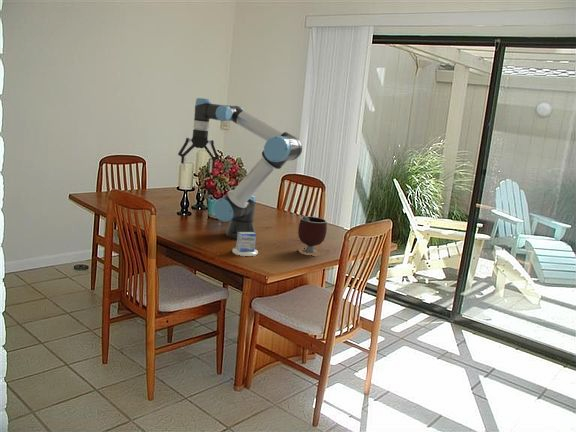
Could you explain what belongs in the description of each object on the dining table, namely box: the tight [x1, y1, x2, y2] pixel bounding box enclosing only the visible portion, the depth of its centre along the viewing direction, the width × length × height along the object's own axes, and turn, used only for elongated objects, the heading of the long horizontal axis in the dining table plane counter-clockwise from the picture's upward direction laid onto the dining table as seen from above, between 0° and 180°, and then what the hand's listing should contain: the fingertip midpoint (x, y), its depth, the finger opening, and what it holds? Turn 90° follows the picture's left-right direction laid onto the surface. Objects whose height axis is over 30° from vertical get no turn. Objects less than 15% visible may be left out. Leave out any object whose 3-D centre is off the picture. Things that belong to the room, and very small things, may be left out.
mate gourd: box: [297, 214, 328, 253], centre depth 276 cm, size 16×14×20 cm
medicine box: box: [235, 232, 257, 252], centre depth 263 cm, size 8×4×9 cm, turn 117°
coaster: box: [232, 246, 259, 257], centre depth 264 cm, size 12×12×1 cm
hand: (197, 171), depth 285 cm, fingers open, 13 cm apart
